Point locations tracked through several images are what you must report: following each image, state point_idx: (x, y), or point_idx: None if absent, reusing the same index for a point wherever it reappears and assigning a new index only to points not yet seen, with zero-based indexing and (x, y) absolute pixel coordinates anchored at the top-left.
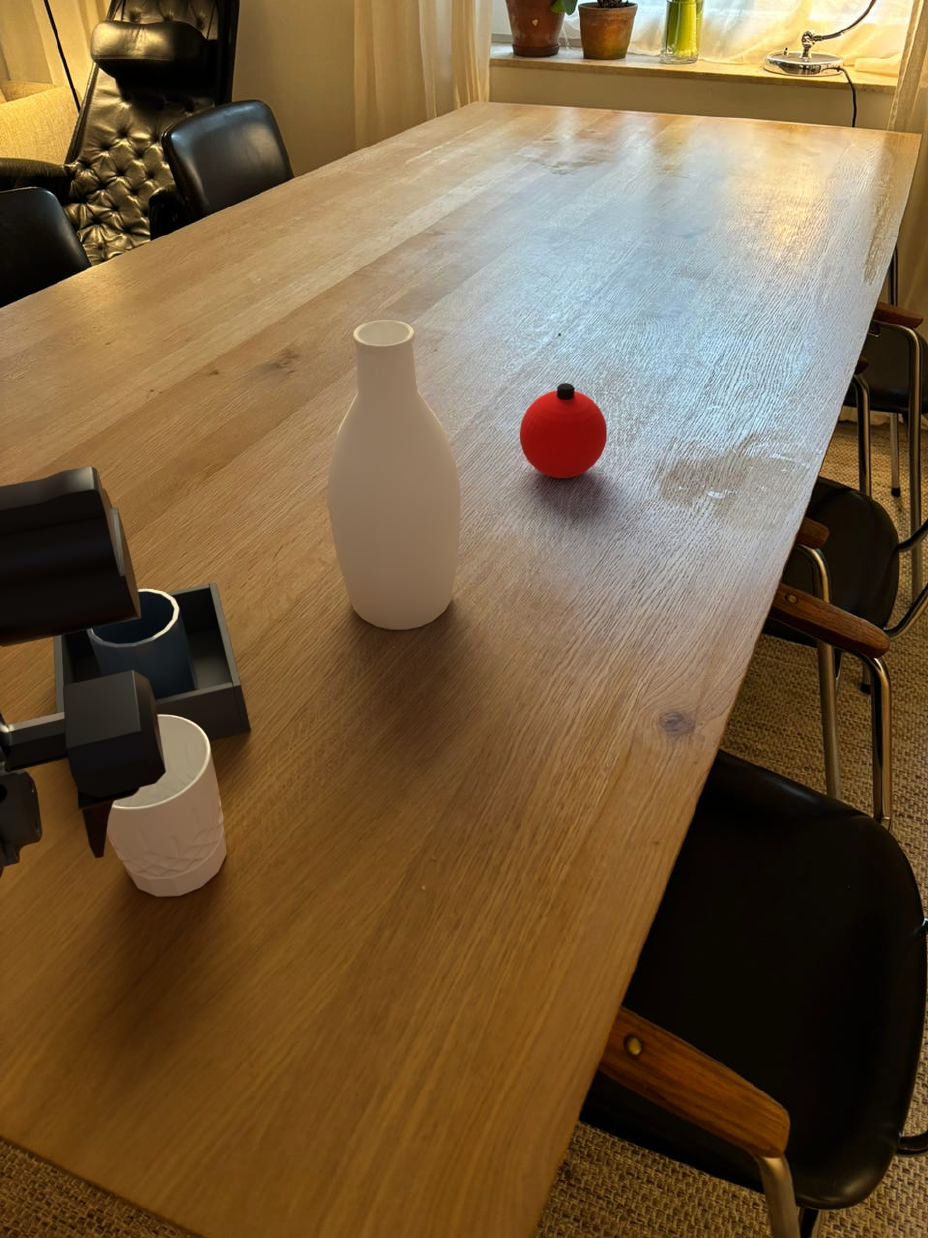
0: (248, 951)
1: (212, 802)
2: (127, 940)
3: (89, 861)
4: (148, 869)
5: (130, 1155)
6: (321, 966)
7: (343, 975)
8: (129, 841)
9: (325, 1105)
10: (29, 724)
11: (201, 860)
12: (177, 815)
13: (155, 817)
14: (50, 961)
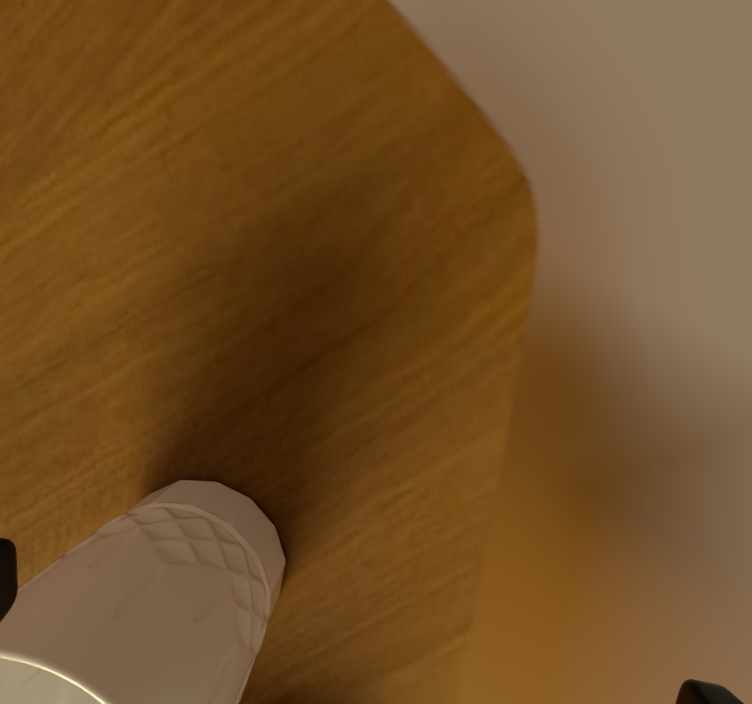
0: (135, 331)
1: None
2: (310, 445)
3: (342, 615)
4: (209, 536)
5: (374, 62)
6: (33, 250)
7: (5, 218)
8: (177, 601)
9: (71, 6)
10: None
11: (131, 512)
12: (23, 605)
13: (51, 623)
14: (433, 468)
